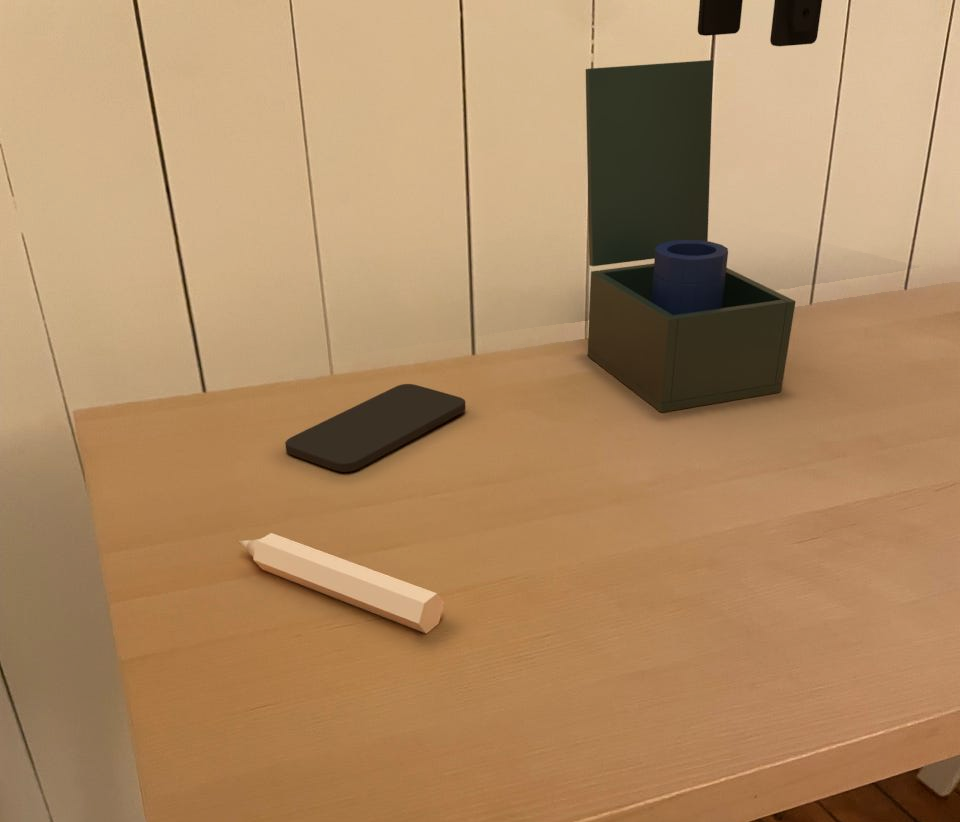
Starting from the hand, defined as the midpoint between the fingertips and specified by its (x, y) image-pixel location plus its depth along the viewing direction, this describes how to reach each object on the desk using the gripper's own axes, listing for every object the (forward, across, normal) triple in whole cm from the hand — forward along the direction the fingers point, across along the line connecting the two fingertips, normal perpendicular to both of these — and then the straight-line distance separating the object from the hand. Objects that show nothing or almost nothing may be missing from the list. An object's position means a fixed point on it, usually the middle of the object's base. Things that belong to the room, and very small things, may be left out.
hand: (753, 39), depth 70 cm
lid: (+10, +15, 0) cm, 18 cm away
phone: (+26, +4, +28) cm, 39 cm away
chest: (+26, +7, 0) cm, 27 cm away
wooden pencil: (+26, -18, +37) cm, 48 cm away
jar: (+26, +7, 0) cm, 27 cm away
